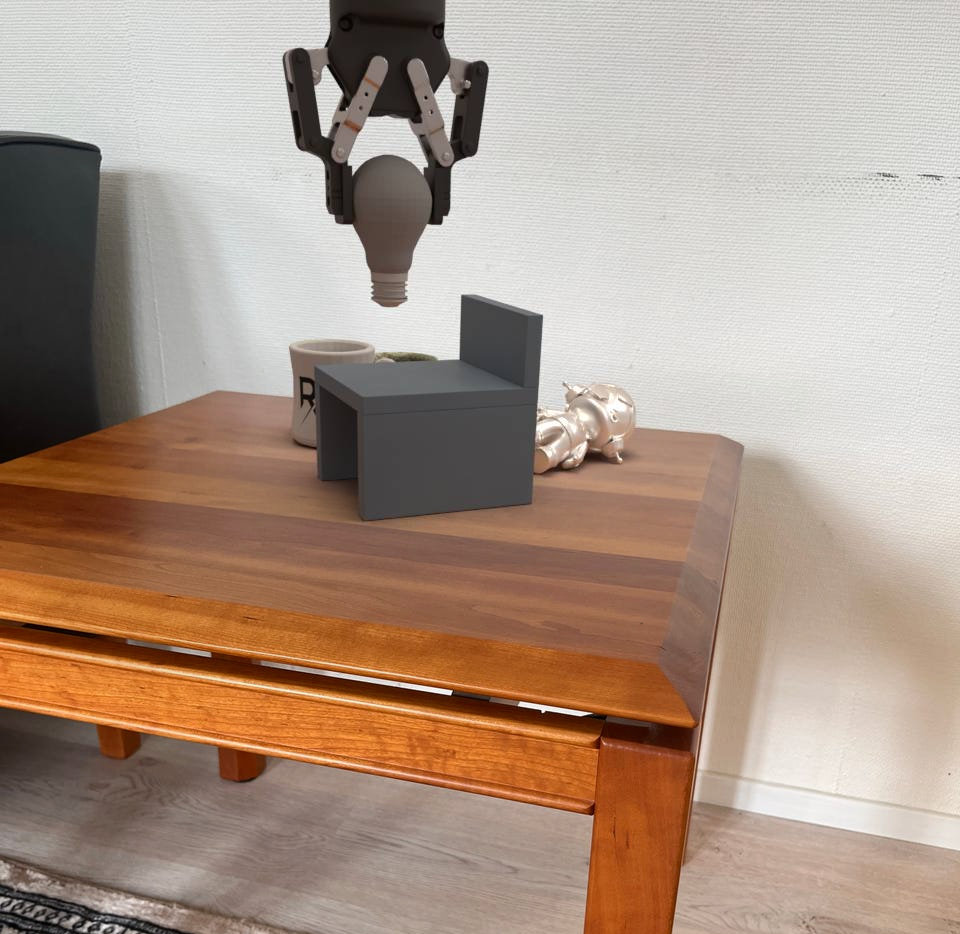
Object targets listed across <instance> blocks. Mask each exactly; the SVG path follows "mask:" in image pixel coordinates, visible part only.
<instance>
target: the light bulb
mask: <svg viewBox="0 0 960 934" xmlns="http://www.w3.org/2000/svg"><path fill="white" fill-rule="evenodd" d="M352 180H353V223H352V225H351V226H352V227H353V229H354V232H355V233H356V234H357V236H358V238H359V240H360V243H361V245H362V247H363V249H364V252H365V254H364V255H365V261H366V265H367V268H368V270H369V273H370V282H371V283H372V285H371V286H370V288H371V289H372V291H371V292H370V294H371V295H372V296H371V297H370V300H371V301H373V302H374V303H376V304H378V305H379V306H380V307H382V308H398V307H399V306H400V305H402V304H404V303H406V302H409V301H408V295H406V293H407V292H409V290H408V289H406V287H407V286H408V283H406V282H408V280H409V271H410V269H411V267H412V264H413V259H414V251H415V249H416V247H417V245H418V243H419V241H420V239H421V238H422V235H423V234H424V231H425V229H426V228H427V226H428V225H429V224H428V222H429V218H430V214H431V209H432V196H431V191H430V188H429V185H428V183H427V181H426V179H425V177H424V176H423V173H422V171H421V170H420V169H419V168H418V167H417V166H416V164H414V163H413V162H412V161H410V160H408V159H407V158H406V157H405V158H404V157H402V156H399V155H395V154H386V153H385V154H380V155H376V156H373V157H371V158H369V159H367V160H365V161H364V162H363V163H361V164H360V165H359V166H358V168H357V169H356V170H355V171H354V172H353V173H352Z"/></svg>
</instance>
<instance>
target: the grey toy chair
mask: <svg viewBox="0 0 960 934" xmlns="http://www.w3.org/2000/svg"><path fill="white" fill-rule="evenodd" d="M459 320H460V321H459V322H460V324H459V353H458V354H459V355H458V357H459V358H458V359H438V360H432V361H408V362H384V363H360V364H336V365H315V366H314V377H315V411H316V442H317V447H316V469H317V472H316V473H317V478H318V479H319V480H320V481H322V482H325V481H334V480H347V479H357V486H358V487H357V493H358V498H357V499H358V517H359V518H360V519H361V520H362V521H363V522H367V521H377V520H386V519H395V518H405V517H415V516H425V515H436V514H444V513H453V512H462V511H472V510H473V511H474V510H482V509H492V508H499V507H500V508H501V507H502V508H503V507H510V506H521V505H522V506H523V505H529V504H530V505H531V504H532V502H533V489H534V488H533V487H534V473H535V472H534V457H535V449H536V446H535V440H536V424H537V409H538V408H539V404H538V403H539V389H540V388H539V387H540V375H541V359H542V342H543V328H544V327H543V325H544V314H542V313H537V312H534V311H531V310H528V309H526V308H525V309H524V308H521V307H518V306H514V305H512V304H509V303H506V302H505V303H504V302H501V301H498V300H496V299H491V298H488V297H485V296H482V295H479V294H473V293H472V294H470V293H469V294H461V295H460V317H459Z"/></svg>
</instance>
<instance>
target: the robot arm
mask: <svg viewBox="0 0 960 934" xmlns="http://www.w3.org/2000/svg"><path fill="white" fill-rule="evenodd" d="M328 1H329V2H328V5H329V34H328V38H327V40H326V42H325V44H324V47H322V48H311V49H305V48H304V47H294V48H291V49H288V50H286V51H285V52H284V53H283V55H282V58H281V61H282V62H281V63H282V68H283V74H284V79H285V80H284V81H285V86H286V93H287V98H288V104H289V110H290V116H291V117H290V118H291V123H292V128H293V136H294V142H295V145H296V148H297V149H298V150H299V151H300V152H304V153H308V154H311V155H313V156H315V157H317V158H318V159H320V160H321V162H322V164H323V165H324V166H323V167H324V178H325V179H324V182H325V183H324V184H325V189H324V190H325V207H326V210H327V212H328V215H332V216H334V217H333V218H334V221H335V224H338V225H342V226H353V225H352V223H353V180H352V176H353V165H349V157H350V155H351V152H352V150H353V148H354V145H355V143H356V140H357V137H358V136H359V133H360V132H362V130H363V128H364V126H365V124H366V121H367V119H368V118H383V117H389V118H392V119H400V120H407V122H408V125H409V127H410V129H411V132H412V133H413V134H414V136H416V138H417V141H418V143H419V147H420V148H421V151H422V153H423V156H424V159H425V161H426V163H427V166H423V169H422V171H423V173H422V174H423V176H424V177H425V179H426V181H427V183H428V185H429V188H430V191H431V196H432V209H431V214H430V218H429V222H428V224H427V225H428V226H442V225H443V223H444V217H448V216H449V214H450V211H451V199H452V197H451V196H452V194H451V192H452V169H453V167H454V165H455V164H456V163H458V162H459V161H463V160H465V159H467V158H473V157H474V156H476V154H477V153H478V150H479V144H480V137H481V130H482V122H483V117H484V108H485V102H486V95H487V88H488V81H489V80H488V79H489V75H490V69H489V65H488V63H487V62H486V61H485V60H482V59H481V60H474V61H468V60H463V59H460V58H457V57H456V58H455V57H452V56H451V54H450V51H449V49H448V47H447V44H446V40H445V27H446V0H328ZM325 67H326V68H327V70H328V71H329V73H330V74H331V76H332V77H333V79H334V81H335V82H336V84H337V86H338V88H339V89H340V91H341V96H340V98H339V100H338V103H337V106H336V108H335V111H334V113H333V116H332V119H331V126H330V128H329V131H328V133H327V136H325V135H323V134H322V129H321V121H320V115H319V109H318V108H319V107H318V102H317V96H316V95H317V94H316V86H318V85H319V84H320V83H321V81H322V75H323V73H322V72H323V69H324V68H325ZM446 77H448V79H449V83H450V90H451V92H452V93H453V94H454V95H455V97H454V99H455V100H454V106H453V113H452V122H451V128H450V129H451V130H450V136H449V138H448V135H447V133H446V130H445V127H446V126H445V120H444V117H443V116H442V115H443V114H442V113H441V110H440V107H439V105H438V102H437V99H436V97H435V95H436V92H437V91H438V90H439V88H440V86H441V84H442V83H443V81H444V80H445V78H446Z"/></svg>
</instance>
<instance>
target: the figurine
mask: <svg viewBox="0 0 960 934" xmlns="http://www.w3.org/2000/svg"><path fill="white" fill-rule="evenodd" d="M562 386H563V387H565V388H567V390H568V391H567V392H566V393H565V394H564V398H565V403H566V404H565V409H564V410H562V409H558V408H551V407H548V406H547V407H546V406H545V407H543V406H538V408H537V424H536V440H535V447H537V448H535V457H534V473H535V474H542V473H545V472H546V471H547V470H548V469H551V468H555V467H557V466H558V464H560V463H561V462H562V465H561V467H562V469H564V470H568V469H572V468H574V467H578V466H579V465H580V463H583V462H584V457H585V456H586V454H587V453H589V454H599V453H600V454H601V455H603V456H605V457H607V458H608V459H609V458H614V457H615V458H616V463H617V464H622V463H623V458H622V457H620V455H619V454H621V453H622V452H623V451H624V444H625V443H626V442H627V441H629V439H630V438H631V437H632V435H633V434H634V431H635V429H636V426H637V417H638V416H637V408H636V405H635V402H634V399H633V397H632V396H631V395H630V394H629V392H627V390H626V389H624V388H622V387H621V386H619V385H617V384H616V383H612V382H598V383H597V382H595V381H592V382H591V383H589V384H588V385H587V386H585V385H581V384H579V383H576V384H575V385H573V386H572V387H571V386H570V385H569V381H568V380H563V382H562ZM538 446H539V447H538Z"/></svg>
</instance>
